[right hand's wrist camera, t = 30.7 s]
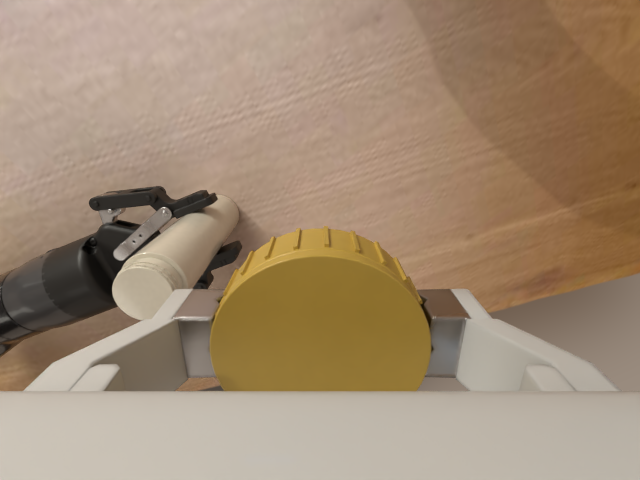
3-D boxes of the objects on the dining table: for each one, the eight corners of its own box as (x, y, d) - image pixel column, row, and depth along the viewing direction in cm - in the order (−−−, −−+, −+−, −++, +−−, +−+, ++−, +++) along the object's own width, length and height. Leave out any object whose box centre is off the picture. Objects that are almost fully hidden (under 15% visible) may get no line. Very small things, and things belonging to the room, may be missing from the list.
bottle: (240, 233, 40) (182, 326, 23) (200, 232, 40) (112, 324, 23) (238, 195, 39) (175, 263, 21) (197, 193, 38) (100, 260, 21)
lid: (385, 196, 9) (401, 218, 7) (434, 360, 11) (455, 408, 9) (192, 262, 9) (164, 296, 8) (269, 406, 11) (260, 459, 10)
